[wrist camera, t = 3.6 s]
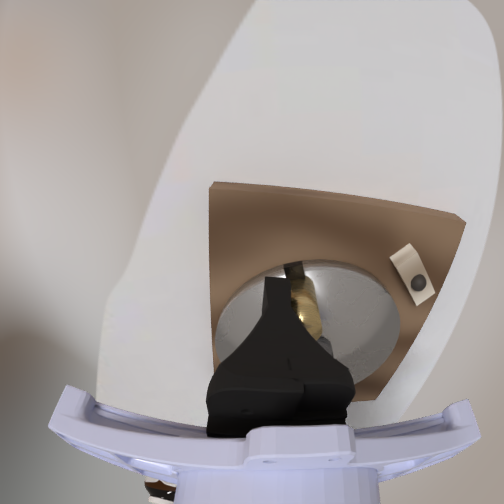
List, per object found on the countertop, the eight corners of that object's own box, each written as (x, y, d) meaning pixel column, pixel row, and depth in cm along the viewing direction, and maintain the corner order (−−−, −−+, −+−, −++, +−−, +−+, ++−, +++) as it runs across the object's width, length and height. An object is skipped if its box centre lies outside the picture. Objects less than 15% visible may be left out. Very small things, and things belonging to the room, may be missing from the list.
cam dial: (387, 369, 20) (400, 413, 16) (245, 393, 23) (241, 437, 19) (398, 229, 14) (435, 273, 10) (185, 272, 17) (161, 324, 12)
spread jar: (165, 465, 47) (156, 505, 37) (135, 447, 42) (122, 491, 32) (209, 469, 44) (202, 514, 34) (182, 453, 39) (171, 504, 29)
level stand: (372, 388, 25) (378, 414, 22) (217, 384, 25) (212, 412, 22) (455, 214, 15) (481, 235, 12) (214, 181, 16) (200, 199, 13)
